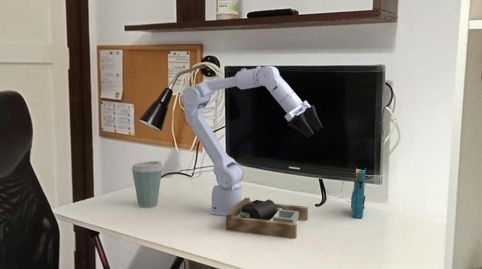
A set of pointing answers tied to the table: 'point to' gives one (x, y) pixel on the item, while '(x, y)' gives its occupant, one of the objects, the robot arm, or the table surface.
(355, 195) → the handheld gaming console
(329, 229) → the table surface
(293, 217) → the pull tray
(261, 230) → the brown wooden frame
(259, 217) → the end cap
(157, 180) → the disposable coffee cup
